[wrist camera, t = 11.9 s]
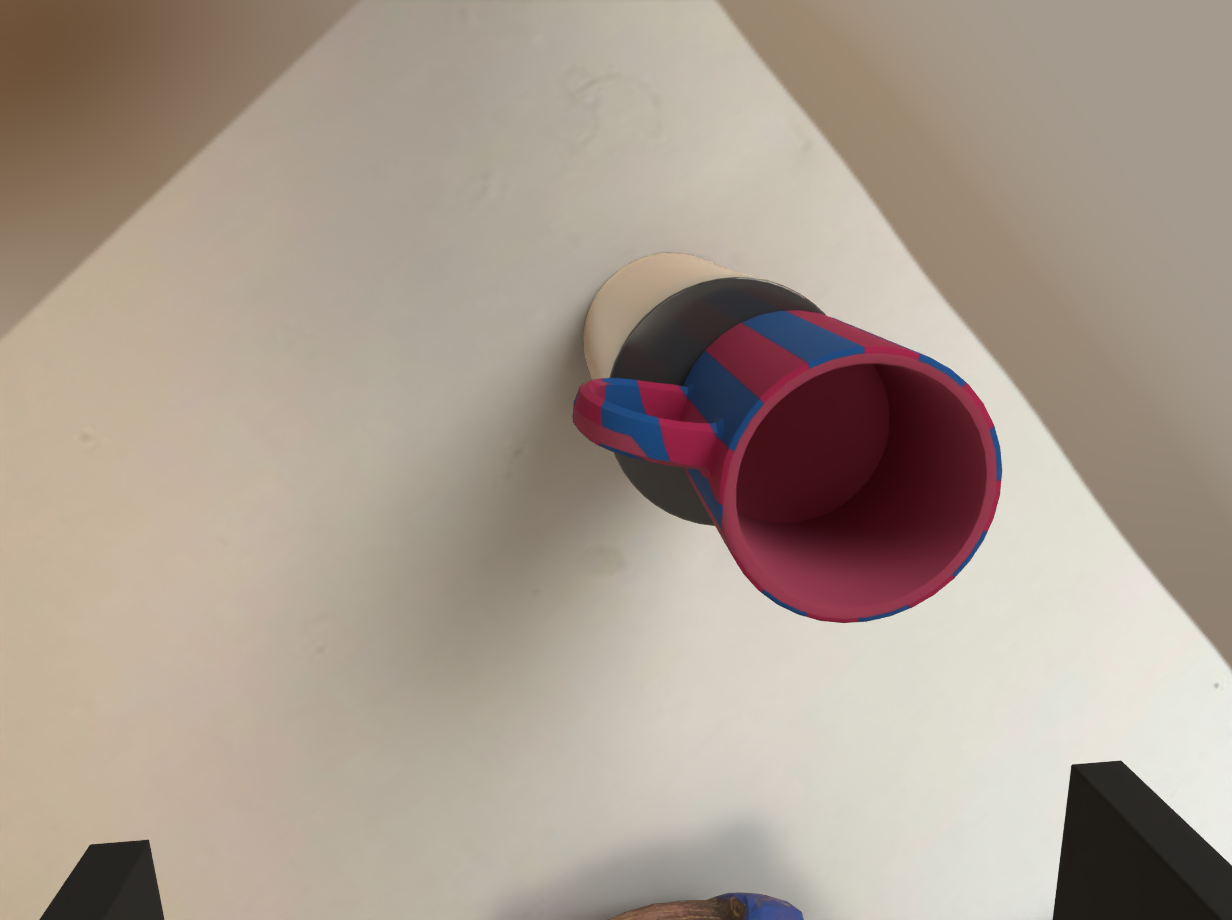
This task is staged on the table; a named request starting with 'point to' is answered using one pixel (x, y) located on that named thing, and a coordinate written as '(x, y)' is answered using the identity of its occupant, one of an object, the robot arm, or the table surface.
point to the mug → (819, 460)
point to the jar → (671, 341)
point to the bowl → (718, 909)
